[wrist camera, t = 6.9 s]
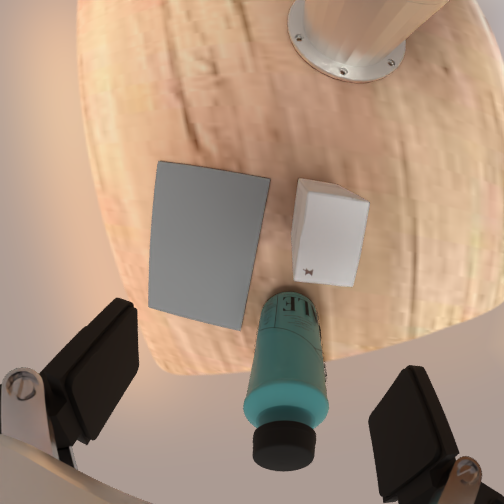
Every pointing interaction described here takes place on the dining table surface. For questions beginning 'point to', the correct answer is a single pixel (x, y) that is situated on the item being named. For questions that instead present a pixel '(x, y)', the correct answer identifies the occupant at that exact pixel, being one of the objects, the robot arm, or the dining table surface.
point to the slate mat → (204, 242)
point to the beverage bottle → (286, 384)
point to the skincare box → (327, 233)
